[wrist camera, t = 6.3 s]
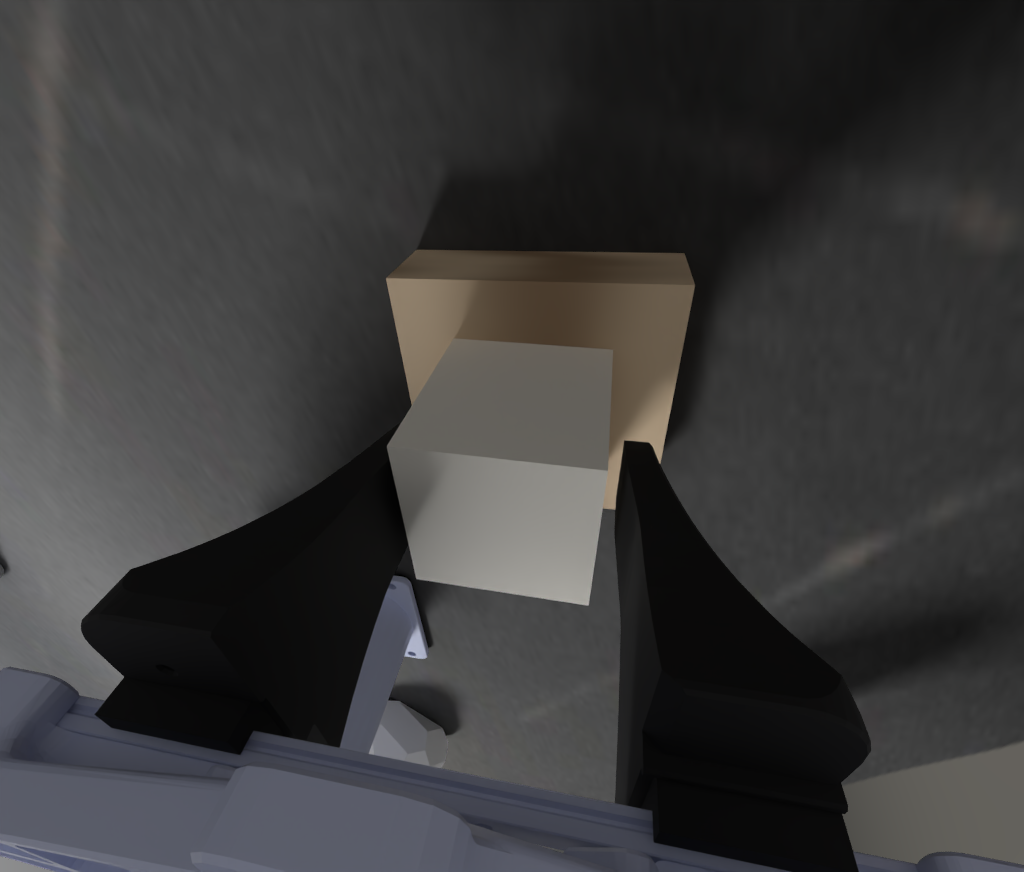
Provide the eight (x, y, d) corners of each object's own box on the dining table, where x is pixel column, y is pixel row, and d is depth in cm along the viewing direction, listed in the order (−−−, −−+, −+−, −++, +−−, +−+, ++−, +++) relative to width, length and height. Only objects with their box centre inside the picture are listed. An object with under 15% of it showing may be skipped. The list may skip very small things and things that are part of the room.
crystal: (358, 732, 31) (206, 764, 44) (409, 834, 31) (241, 838, 43) (429, 664, 38) (279, 709, 50) (472, 748, 37) (310, 773, 50)
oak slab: (450, 441, 20) (429, 491, 18) (421, 245, 15) (385, 278, 13) (646, 457, 19) (650, 512, 17) (682, 248, 14) (695, 285, 12)
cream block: (465, 457, 17) (416, 579, 13) (453, 337, 14) (386, 446, 10) (597, 472, 16) (588, 605, 12) (613, 349, 13) (608, 470, 9)
